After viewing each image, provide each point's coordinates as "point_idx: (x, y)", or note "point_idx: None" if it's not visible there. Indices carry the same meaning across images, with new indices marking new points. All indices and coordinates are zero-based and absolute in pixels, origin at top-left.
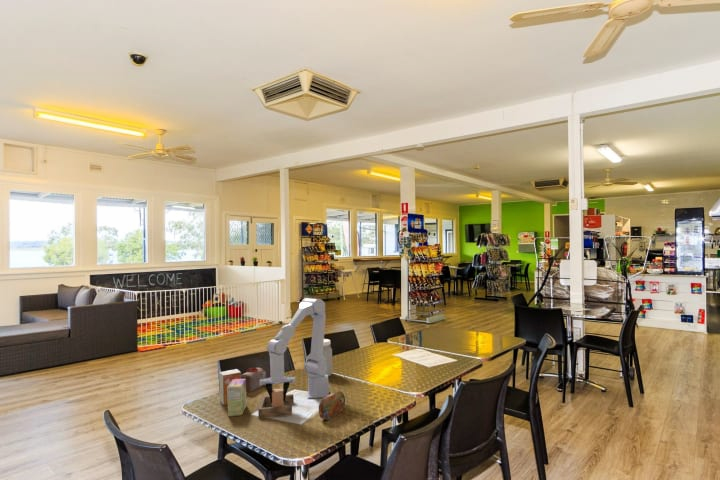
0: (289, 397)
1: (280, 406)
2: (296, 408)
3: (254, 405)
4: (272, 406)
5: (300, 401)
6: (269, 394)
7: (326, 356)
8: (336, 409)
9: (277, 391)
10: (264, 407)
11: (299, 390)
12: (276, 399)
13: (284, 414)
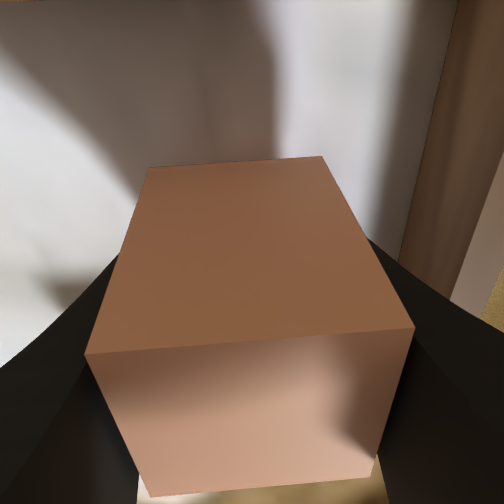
0: None
1: (193, 166)
2: (12, 214)
3: (484, 317)
4: (321, 163)
5: None
6: (449, 310)
7: None
8: None
9: (259, 389)
10: (402, 259)
11: (137, 496)
12: (265, 225)
13: None
